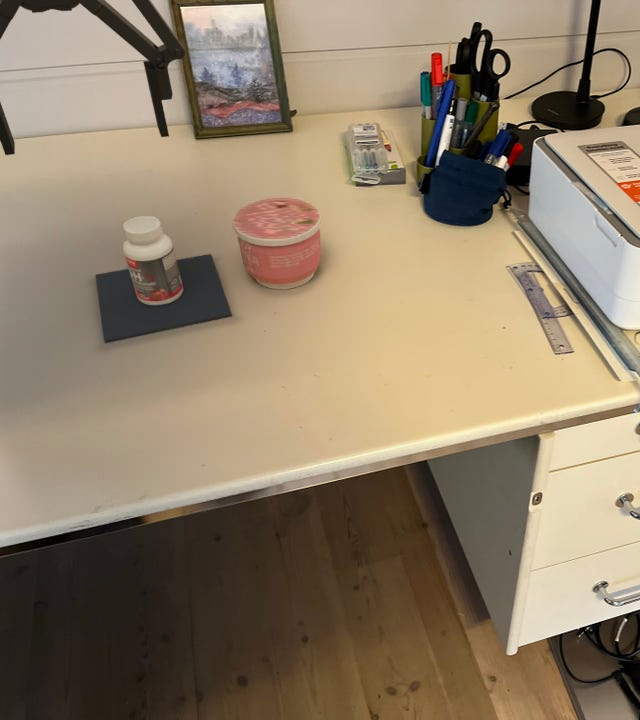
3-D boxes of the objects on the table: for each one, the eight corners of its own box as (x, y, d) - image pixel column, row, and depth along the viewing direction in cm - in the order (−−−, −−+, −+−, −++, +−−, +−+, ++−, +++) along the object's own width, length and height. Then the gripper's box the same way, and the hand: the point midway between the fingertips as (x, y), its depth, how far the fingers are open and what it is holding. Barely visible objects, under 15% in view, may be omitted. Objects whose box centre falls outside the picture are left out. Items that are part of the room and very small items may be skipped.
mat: (104, 342, 85) (103, 340, 84) (96, 277, 94) (95, 274, 94) (231, 316, 89) (231, 313, 89) (211, 256, 99) (210, 253, 99)
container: (323, 295, 94) (317, 239, 88) (236, 296, 92) (226, 240, 87) (328, 250, 101) (323, 196, 96) (248, 250, 100) (239, 196, 95)
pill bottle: (129, 305, 89) (107, 233, 83) (148, 279, 93) (128, 210, 87) (174, 309, 89) (155, 238, 83) (190, 283, 93) (174, 214, 87)
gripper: (175, -124, 66) (214, 111, 80) (-168, -125, 57) (-58, 140, 71) (188, -110, 61) (228, 139, 75) (-186, -109, 52) (-64, 174, 66)
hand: (89, 140), depth 73 cm, fingers open, 13 cm apart
